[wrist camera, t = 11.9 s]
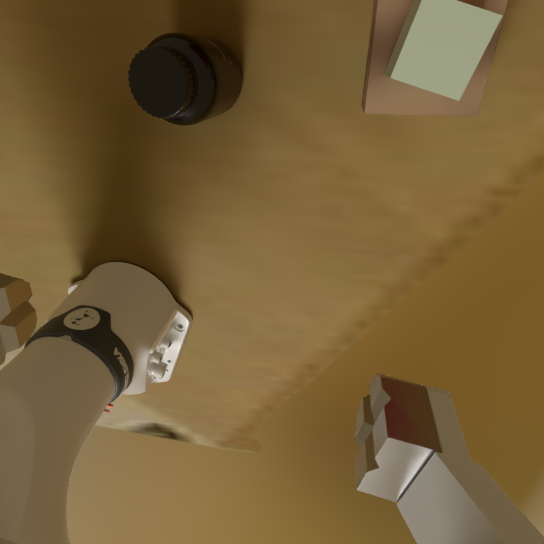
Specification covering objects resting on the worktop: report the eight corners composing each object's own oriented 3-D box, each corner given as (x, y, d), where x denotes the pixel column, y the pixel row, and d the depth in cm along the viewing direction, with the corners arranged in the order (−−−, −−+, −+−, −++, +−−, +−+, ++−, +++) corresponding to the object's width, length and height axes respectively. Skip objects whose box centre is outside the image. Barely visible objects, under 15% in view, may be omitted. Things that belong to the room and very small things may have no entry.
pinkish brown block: (457, 107, 35) (477, 116, 30) (361, 105, 36) (364, 113, 31) (486, -11, 30) (514, -25, 25) (374, -8, 31) (380, -21, 26)
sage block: (442, 94, 29) (458, 101, 25) (383, 75, 29) (390, 78, 25) (477, 22, 27) (502, 15, 22) (412, 0, 27) (425, -11, 22)
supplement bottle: (241, 37, 35) (198, 27, 24) (245, 114, 38) (208, 134, 28) (173, 38, 36) (105, 30, 26) (182, 113, 39) (125, 133, 29)
